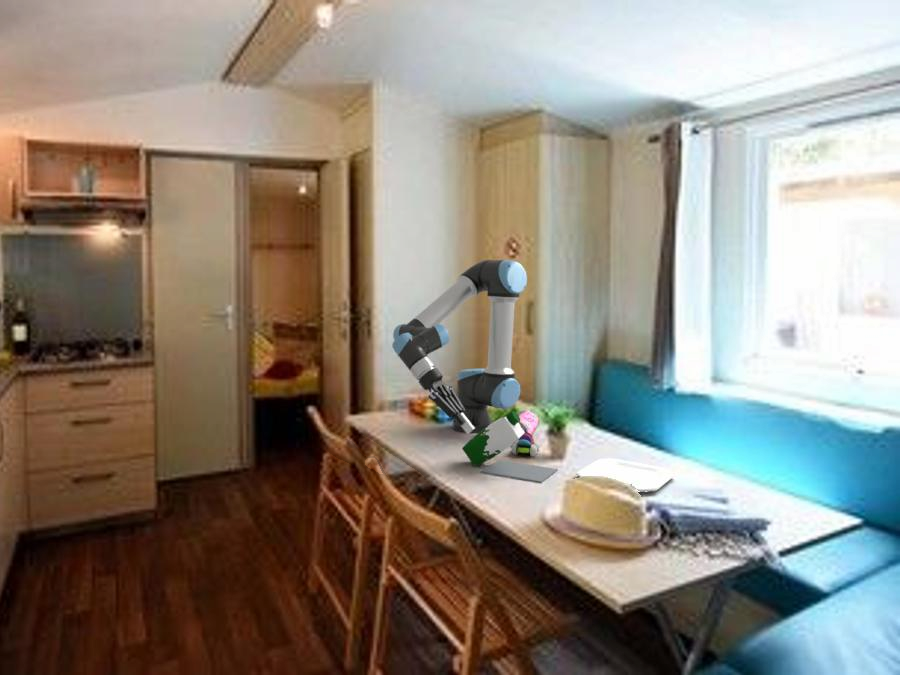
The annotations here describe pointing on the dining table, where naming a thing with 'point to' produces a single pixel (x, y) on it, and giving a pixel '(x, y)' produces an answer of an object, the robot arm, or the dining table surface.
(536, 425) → the pencil case
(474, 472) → the dining table surface
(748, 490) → the dining table surface
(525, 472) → the topple mat
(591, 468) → the plate
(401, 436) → the dining table surface
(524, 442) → the rainbow cloud toy
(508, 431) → the fresh milk carton
